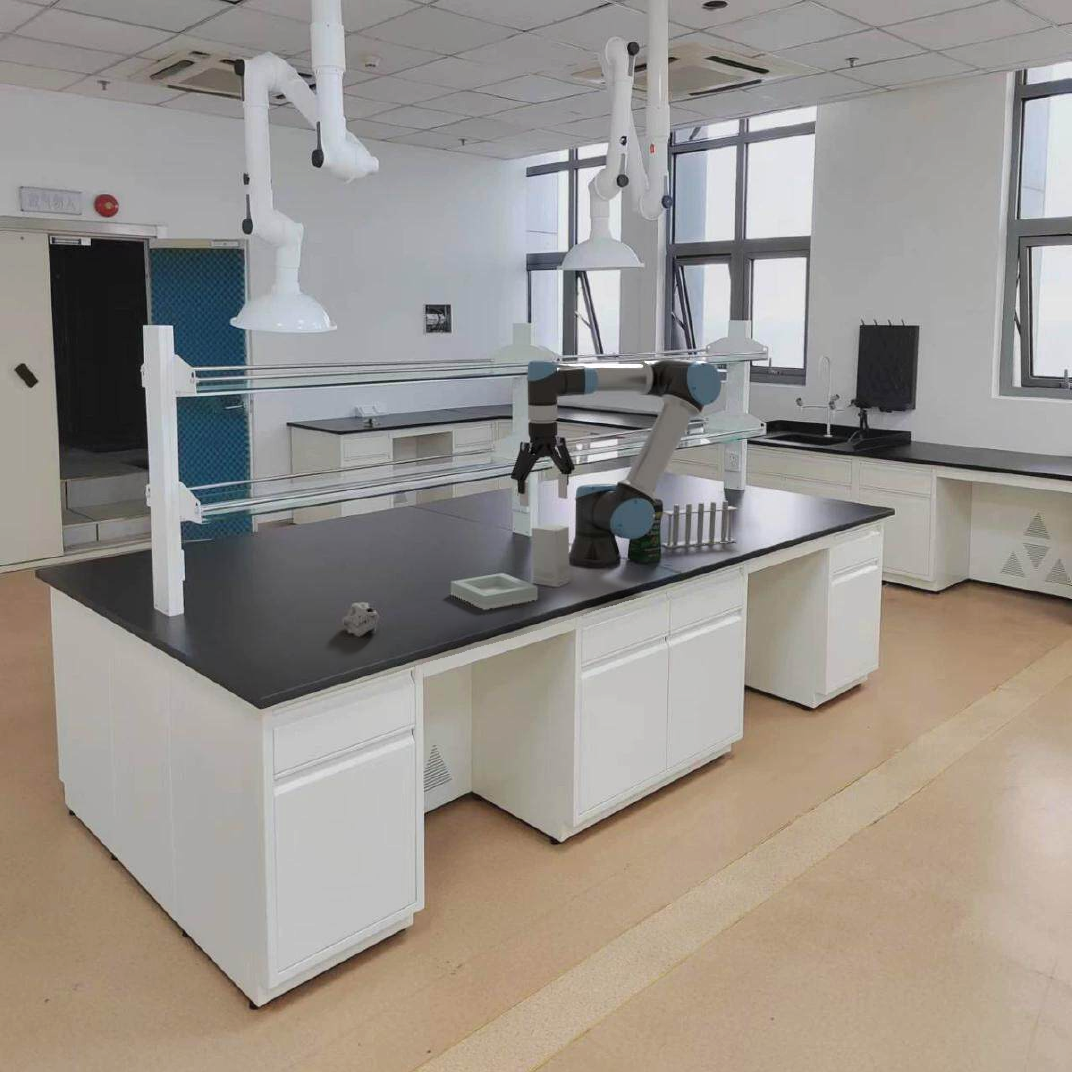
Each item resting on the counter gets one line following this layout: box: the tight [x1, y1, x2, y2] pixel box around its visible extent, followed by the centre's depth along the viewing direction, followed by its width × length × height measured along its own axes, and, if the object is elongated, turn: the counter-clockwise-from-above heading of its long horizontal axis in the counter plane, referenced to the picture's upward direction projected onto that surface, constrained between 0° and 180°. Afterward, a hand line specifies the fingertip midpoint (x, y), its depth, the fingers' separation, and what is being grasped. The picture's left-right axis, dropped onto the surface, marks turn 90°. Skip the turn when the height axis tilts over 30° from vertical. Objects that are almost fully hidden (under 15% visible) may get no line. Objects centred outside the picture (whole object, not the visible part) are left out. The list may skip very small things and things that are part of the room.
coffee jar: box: [627, 497, 664, 564], centre depth 301 cm, size 10×8×19 cm
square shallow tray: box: [450, 572, 539, 610], centre depth 264 cm, size 16×16×4 cm
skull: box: [341, 601, 380, 638], centre depth 234 cm, size 8×9×12 cm
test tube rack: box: [661, 500, 739, 549], centre depth 324 cm, size 25×4×13 cm, turn 113°
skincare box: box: [531, 523, 570, 588], centre depth 276 cm, size 8×7×16 cm
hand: (543, 501), depth 271 cm, fingers open, 13 cm apart
